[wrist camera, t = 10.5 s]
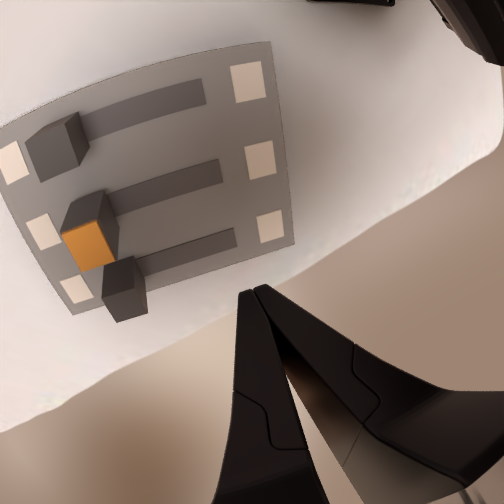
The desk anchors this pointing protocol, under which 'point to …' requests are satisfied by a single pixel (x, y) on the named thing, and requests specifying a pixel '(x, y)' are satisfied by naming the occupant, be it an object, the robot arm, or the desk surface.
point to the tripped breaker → (91, 231)
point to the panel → (155, 174)
